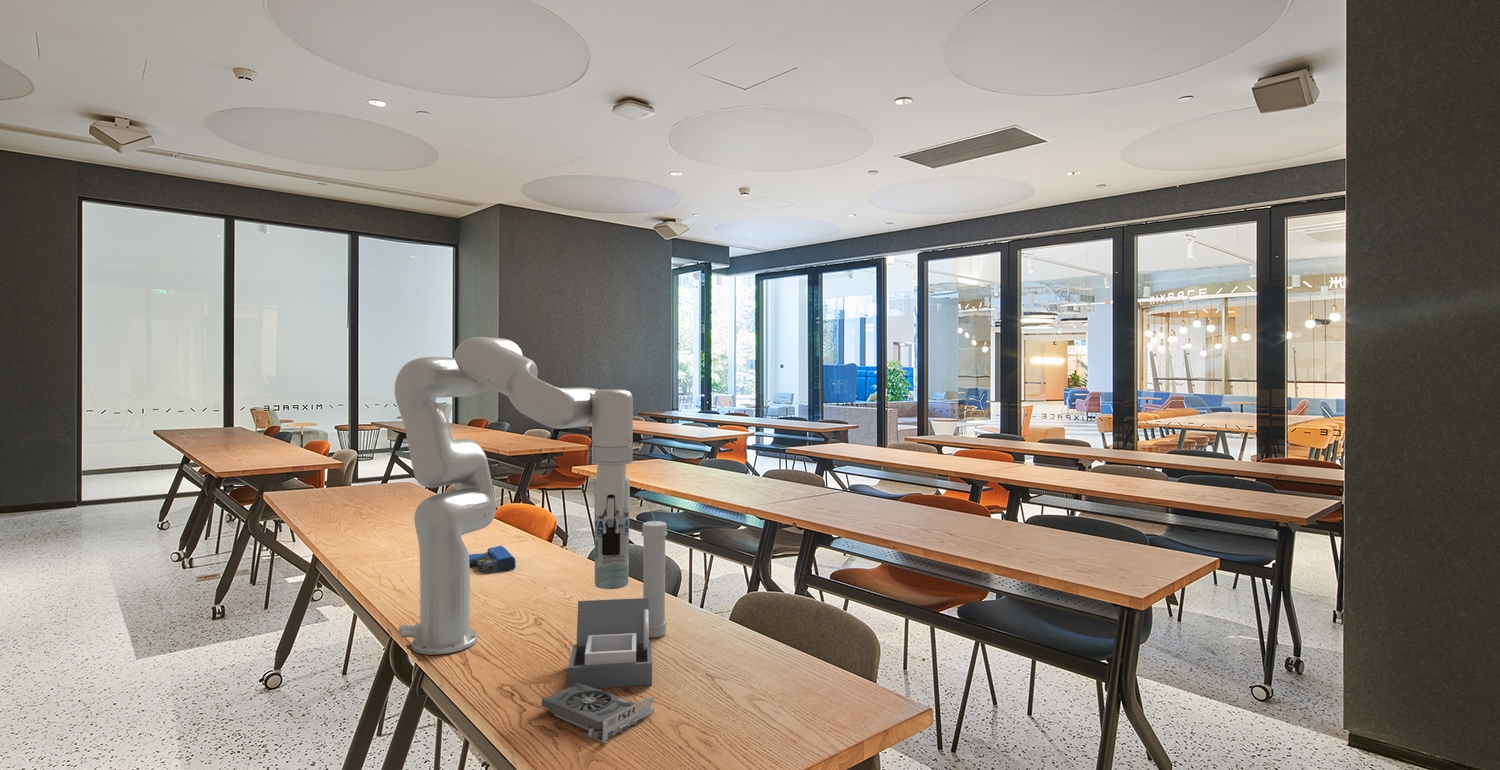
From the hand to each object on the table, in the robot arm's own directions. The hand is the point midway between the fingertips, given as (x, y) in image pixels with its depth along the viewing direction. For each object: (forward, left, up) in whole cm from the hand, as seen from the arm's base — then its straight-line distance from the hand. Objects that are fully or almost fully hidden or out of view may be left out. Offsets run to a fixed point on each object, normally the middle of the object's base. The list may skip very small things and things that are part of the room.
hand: (611, 549), depth 133 cm
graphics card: (-2, -15, -25) cm, 29 cm away
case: (0, +2, -24) cm, 24 cm away
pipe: (+8, +20, -24) cm, 32 cm away
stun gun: (-39, +80, -25) cm, 92 cm away
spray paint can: (0, 0, -7) cm, 7 cm away
